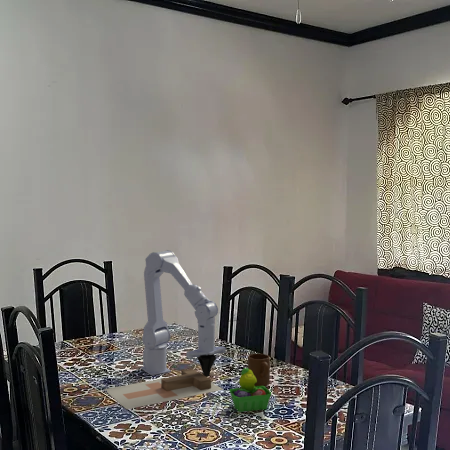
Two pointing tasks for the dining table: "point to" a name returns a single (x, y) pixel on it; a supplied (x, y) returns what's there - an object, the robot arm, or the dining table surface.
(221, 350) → the robot arm
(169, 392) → the mat
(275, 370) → the dining table surface
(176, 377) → the t block
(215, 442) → the dining table surface
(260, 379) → the mug
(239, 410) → the fruit basket
